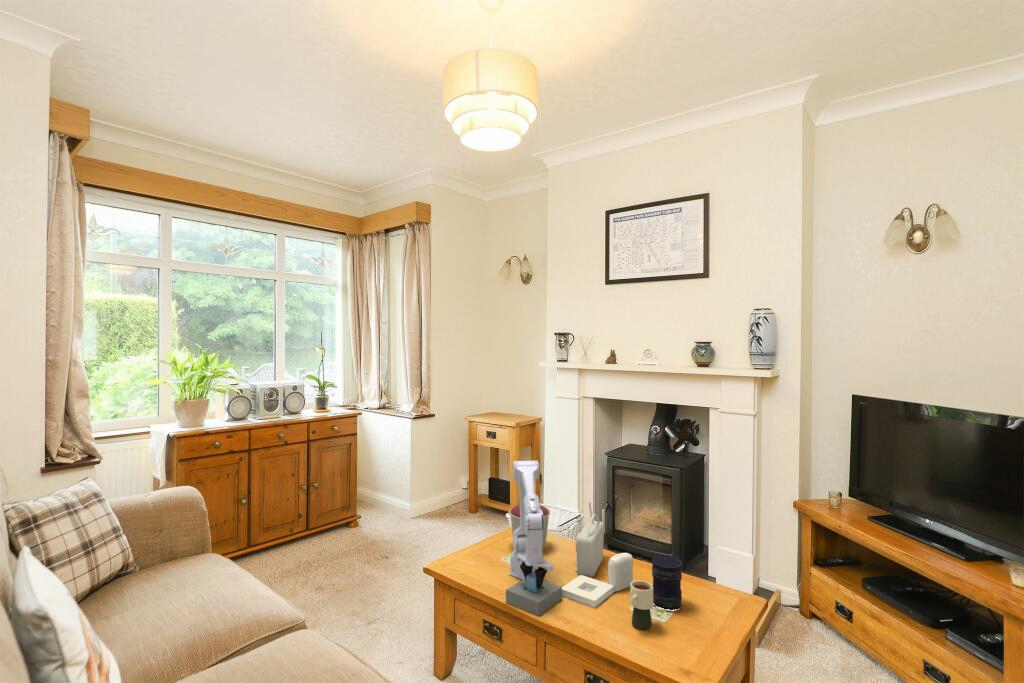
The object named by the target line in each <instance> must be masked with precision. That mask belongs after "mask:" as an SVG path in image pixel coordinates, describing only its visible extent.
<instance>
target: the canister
mask: <svg viewBox="0 0 1024 683" xmlns="http://www.w3.org/2000/svg"><path fill="white" fill-rule="evenodd" d="M540 509H541V510H542V512H543V516H544V529H542V551H543V550H544V548H545V546H546V544H547V536H548V528H549V518H550V514H551V510H550V509H549V508H548V507H546V506H544V505H541V504H540ZM508 514H509V515H510V523H511V533H512V538H513V537H514V531H515V530H516V529H517V528H518V527H519V526H520V504H518V505H515V506H513V507H511V508H510V509H509V511H508ZM521 535H526V534H521Z"/></svg>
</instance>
